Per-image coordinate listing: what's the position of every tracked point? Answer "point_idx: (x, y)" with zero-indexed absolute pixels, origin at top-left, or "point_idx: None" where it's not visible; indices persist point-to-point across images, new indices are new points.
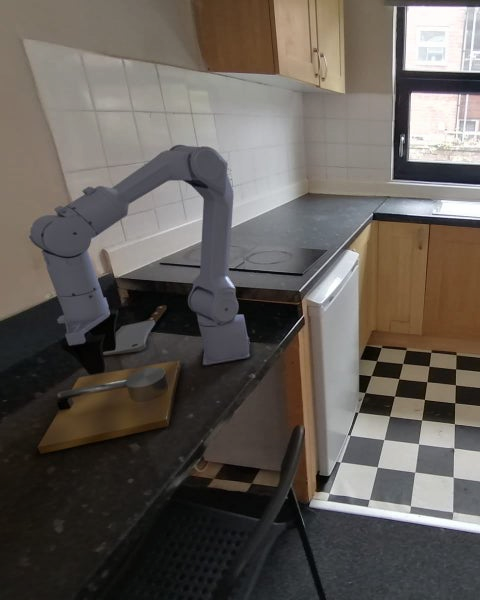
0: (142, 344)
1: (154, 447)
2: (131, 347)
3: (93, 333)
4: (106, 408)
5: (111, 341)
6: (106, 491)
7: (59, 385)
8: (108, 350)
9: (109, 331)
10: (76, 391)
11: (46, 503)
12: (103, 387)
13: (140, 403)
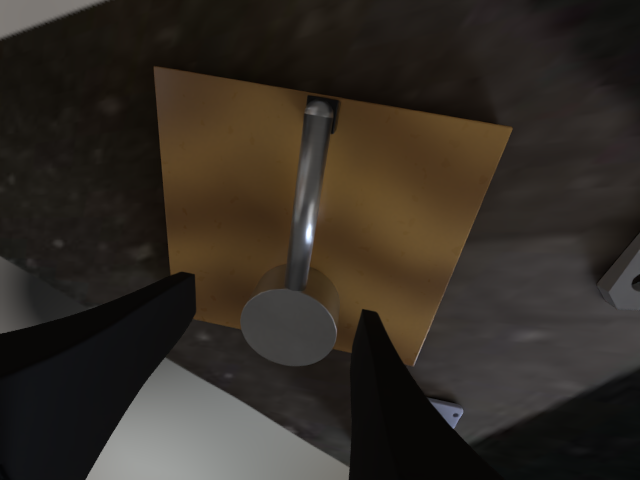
0: (620, 304)
1: (131, 279)
2: (635, 273)
3: (375, 387)
4: (263, 215)
5: (352, 380)
6: (38, 209)
7: (549, 49)
8: (357, 330)
9: (355, 438)
10: (300, 165)
11: (19, 114)
12: (290, 236)
13: (251, 281)
